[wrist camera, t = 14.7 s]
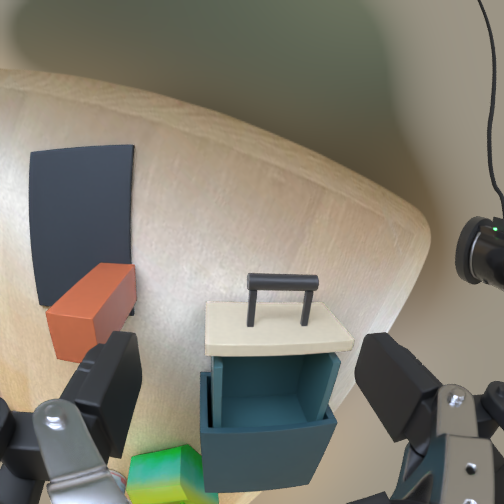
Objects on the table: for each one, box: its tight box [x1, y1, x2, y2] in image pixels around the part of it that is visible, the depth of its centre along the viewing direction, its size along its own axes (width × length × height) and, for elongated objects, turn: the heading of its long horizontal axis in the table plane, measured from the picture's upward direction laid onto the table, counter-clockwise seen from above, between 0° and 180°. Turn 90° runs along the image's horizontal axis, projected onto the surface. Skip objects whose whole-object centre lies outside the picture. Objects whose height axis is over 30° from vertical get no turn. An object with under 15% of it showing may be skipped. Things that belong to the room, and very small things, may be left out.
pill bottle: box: [109, 470, 126, 494], centre depth 32 cm, size 6×6×11 cm
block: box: [46, 263, 137, 363], centre depth 22 cm, size 4×4×12 cm
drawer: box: [205, 273, 355, 428], centre depth 27 cm, size 18×13×8 cm
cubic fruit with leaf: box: [126, 444, 219, 504], centre depth 30 cm, size 11×10×15 cm
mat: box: [29, 145, 134, 316], centre depth 26 cm, size 18×13×1 cm
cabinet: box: [200, 372, 337, 493], centre depth 30 cm, size 15×14×10 cm
